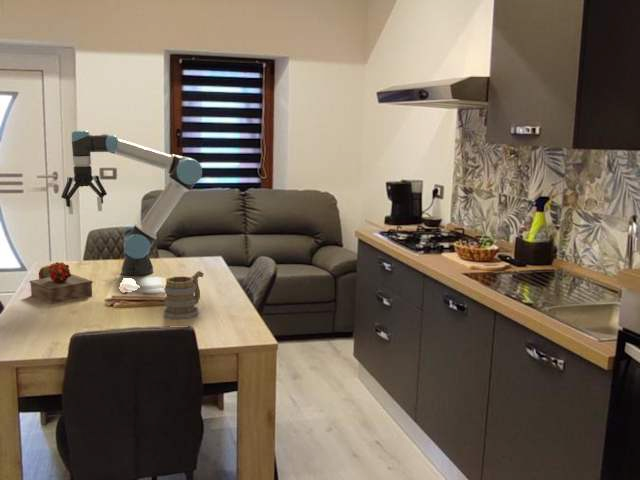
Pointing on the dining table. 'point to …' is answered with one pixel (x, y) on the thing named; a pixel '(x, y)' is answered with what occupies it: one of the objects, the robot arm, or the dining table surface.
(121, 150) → the robot arm
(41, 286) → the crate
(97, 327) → the dining table surface
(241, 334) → the dining table surface
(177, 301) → the tankard
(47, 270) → the tin
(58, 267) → the dragon fruit
